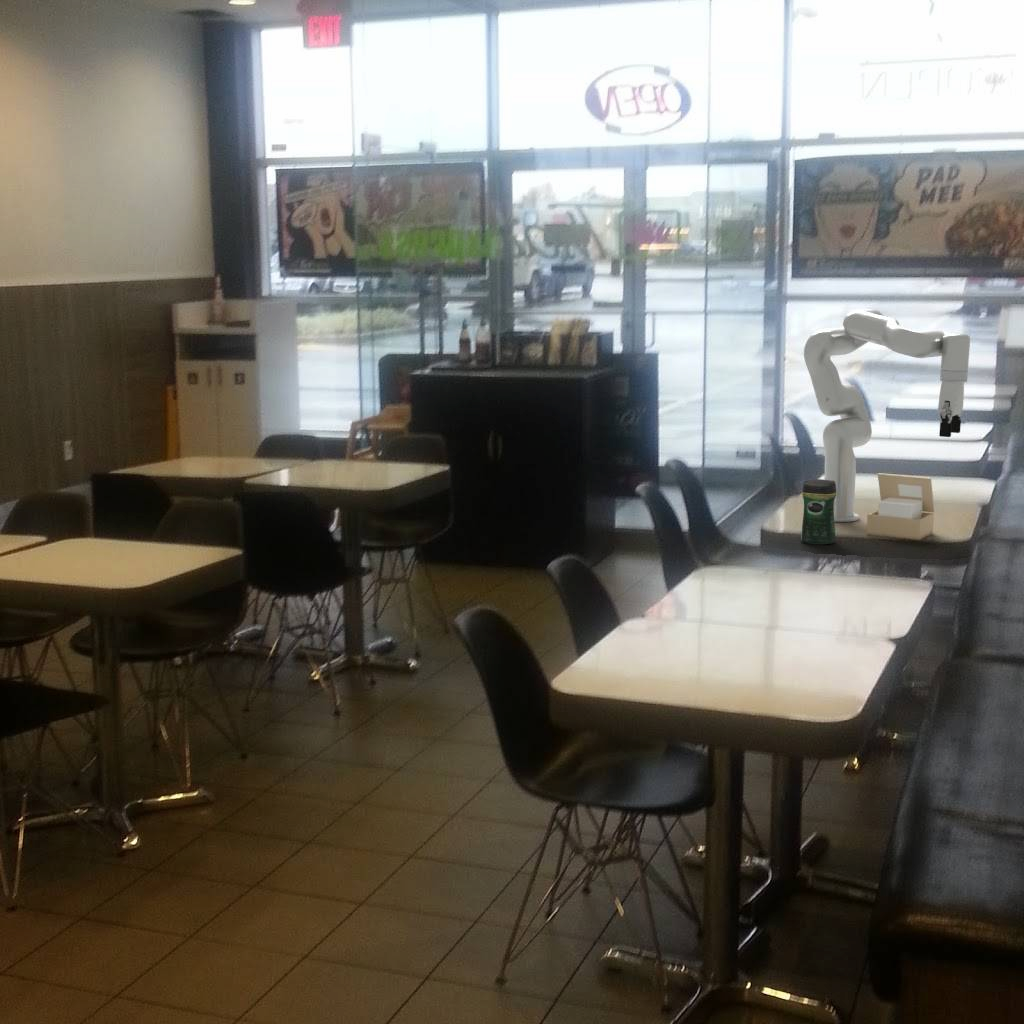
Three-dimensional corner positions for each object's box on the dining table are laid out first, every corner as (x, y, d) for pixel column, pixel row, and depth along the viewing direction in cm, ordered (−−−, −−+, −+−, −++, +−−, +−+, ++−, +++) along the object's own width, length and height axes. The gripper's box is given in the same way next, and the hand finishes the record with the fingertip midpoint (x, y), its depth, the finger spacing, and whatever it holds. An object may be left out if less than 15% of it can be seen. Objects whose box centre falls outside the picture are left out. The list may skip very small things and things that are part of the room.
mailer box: (866, 534, 400) (868, 501, 398) (880, 527, 410) (882, 495, 408) (919, 540, 391) (921, 506, 389) (932, 533, 400) (934, 500, 399)
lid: (877, 474, 402) (878, 472, 403) (881, 507, 408) (882, 506, 409) (930, 478, 393) (931, 477, 394) (933, 512, 399) (934, 511, 400)
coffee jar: (837, 541, 391) (840, 478, 388) (830, 546, 384) (832, 482, 381) (805, 538, 396) (807, 476, 392) (797, 543, 389) (799, 480, 385)
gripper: (949, 372, 397) (945, 430, 400) (932, 378, 382) (928, 437, 386) (974, 374, 393) (970, 432, 396) (958, 379, 378) (954, 439, 382)
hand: (949, 434), depth 391 cm, fingers open, 9 cm apart
